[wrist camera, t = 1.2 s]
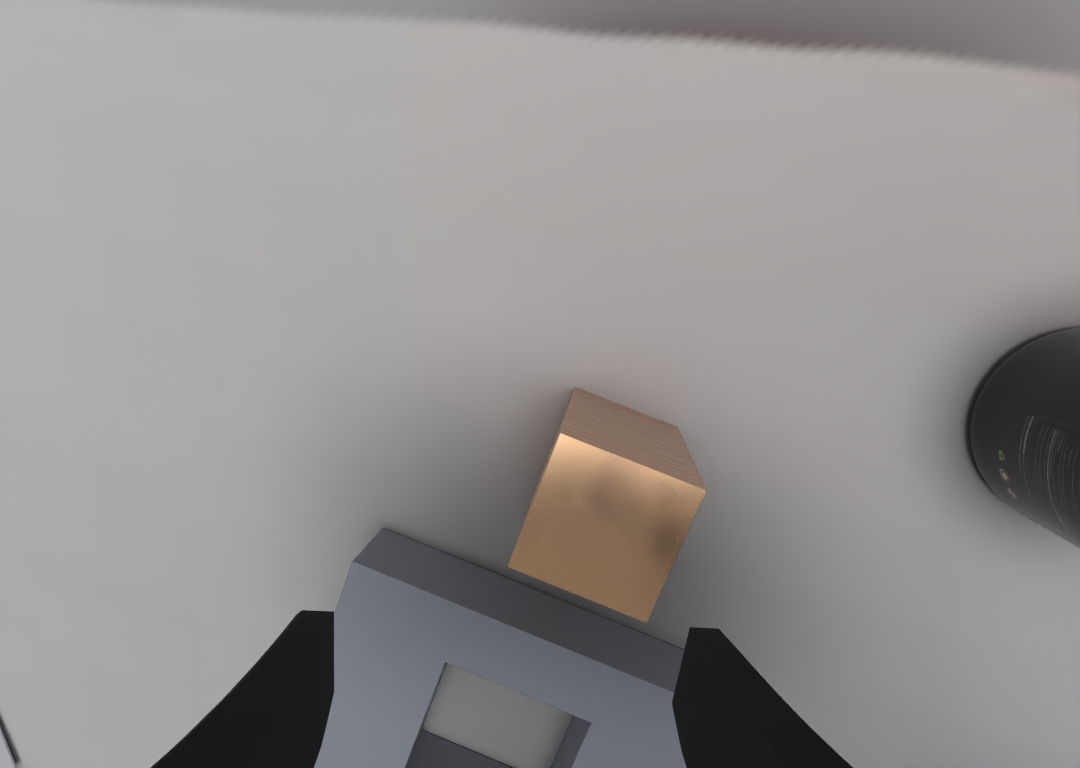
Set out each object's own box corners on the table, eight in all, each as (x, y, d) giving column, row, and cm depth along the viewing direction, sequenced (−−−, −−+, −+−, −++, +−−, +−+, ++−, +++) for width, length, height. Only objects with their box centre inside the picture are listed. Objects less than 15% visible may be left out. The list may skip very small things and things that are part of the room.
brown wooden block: (677, 427, 23) (706, 490, 16) (635, 523, 24) (646, 623, 17) (574, 387, 23) (560, 432, 16) (536, 484, 24) (507, 567, 17)
